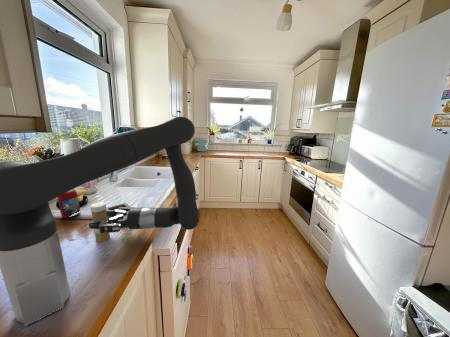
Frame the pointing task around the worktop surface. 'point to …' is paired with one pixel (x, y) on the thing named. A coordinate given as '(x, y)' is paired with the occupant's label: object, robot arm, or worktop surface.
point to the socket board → (116, 208)
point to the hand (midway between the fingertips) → (97, 219)
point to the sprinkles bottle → (99, 220)
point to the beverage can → (68, 203)
